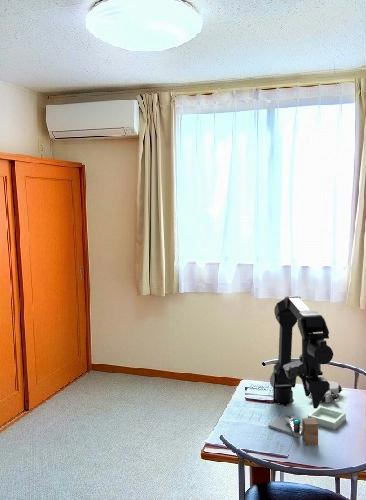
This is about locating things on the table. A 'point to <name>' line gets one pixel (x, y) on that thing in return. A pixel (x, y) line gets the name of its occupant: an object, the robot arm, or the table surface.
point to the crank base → (283, 425)
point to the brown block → (309, 431)
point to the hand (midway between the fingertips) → (311, 402)
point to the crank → (294, 425)
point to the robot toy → (331, 392)
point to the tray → (328, 417)
